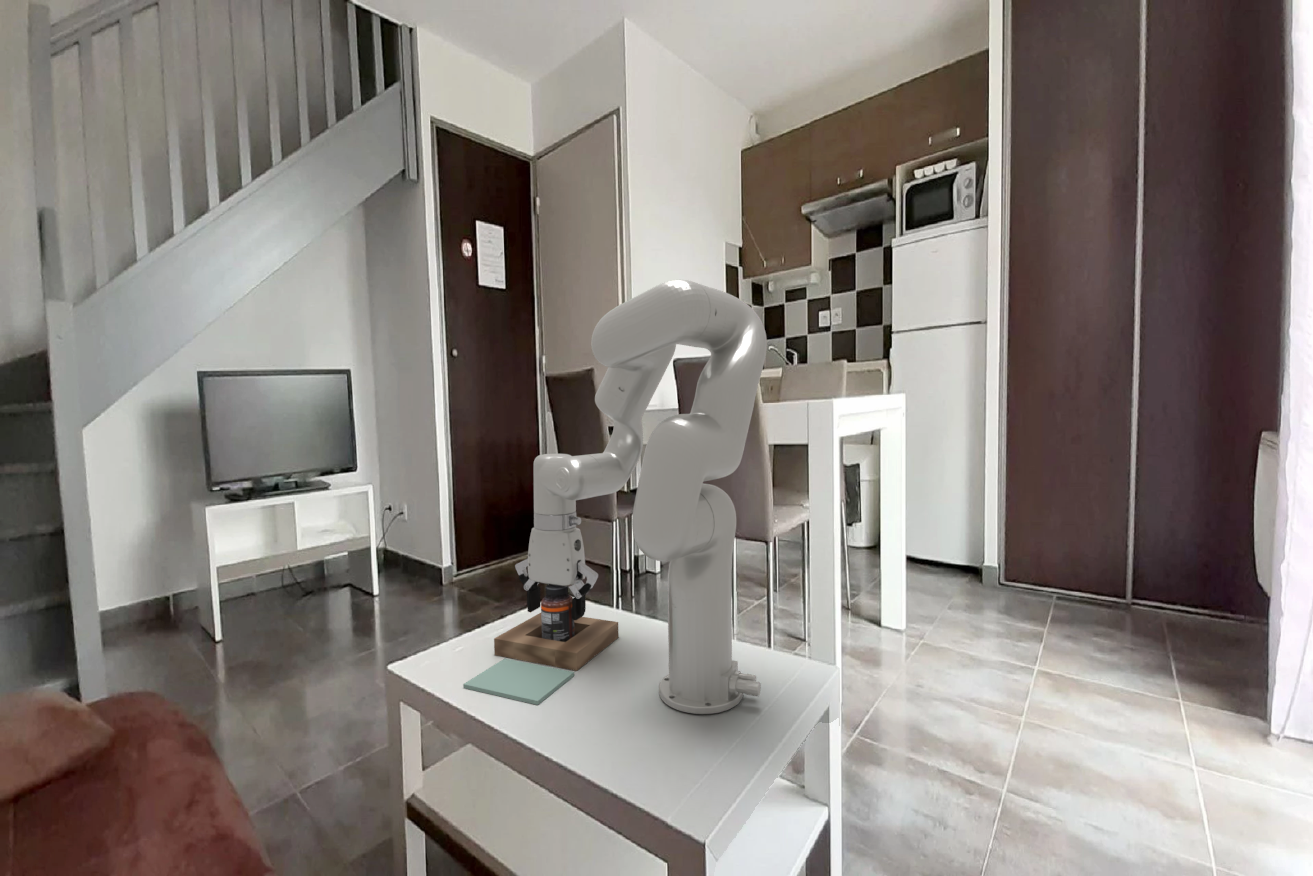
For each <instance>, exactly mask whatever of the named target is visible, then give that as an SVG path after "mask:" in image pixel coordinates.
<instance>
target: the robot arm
mask: <svg viewBox="0 0 1313 876" xmlns="http://www.w3.org/2000/svg"><path fill="white" fill-rule="evenodd" d="M590 341H591V342H590V343H591V345H590V347H591V351H592V354H593V356H594V359H595V360H596V361H597V362H598V363H599V364H601V365H602V366H604V367H607V369H606V372H605V374H604V376H603V378H602V380H601V382H600V383H599V386H598V389H597V390H596V391H595V392H596V393H595V396H594V403H595V405H596V407H597V408H598V410H599V411H600V412H601V413H602V414H603V415H605V416H606V417H607V418H609V419H610V420H612V421H613V430H612V434H611V436H610V438H609V441H608V442H607V445H606V447H605V448H604V451H603V452H601V453H591V454H582V455H571V454H568V453H545V454H539V455H537V456H536V457H534V461H533V527H532V528H531V532H530V534H529V535H530V536H529V543H528V551H527V558H526V559H524V560H522V561H520V562H517V563H516V564H515V565H514V567H515V570H516V572H517V574H518V579H519V581H520V582H521V583H522V585H523V589H524V590H525V591H526V605H527V612H528V613H532V612H535V611H536V610H538V609H541V587H540V586H539V584H546V585H549V584H551V585H557V586H565V587H568V589H569V590H570V591H571V593H572V594H573V596H574V597H572V598H573V599H572V619H573V620H578V619H579V618H581V617H585V613H586V609H587V608H586V601H587V600H586V595H587V594H589V592H591V590H592V589H593V588H594V587H595V584H596V582H597V580H598V578H599V573H598V572H596V571H595V570H593V569H592V567H590V566H588V565H587V564H586V556H585V547H584V541H583V536H582V533H581V529H580V528H578V527H577V526H579V525H581V523H582V517H579V516H577V511H576V510H577V507H576V505H577V502H576V501H579V500H587V499H590V498H595V497H600V496H605V495H611V494H615V493H617V492H618V491H620V490H621V489H622V488H623V487H624V486H625V485H626V484H627V482H628V481H629V479H630V478H631V476H632V474H633V472H634V470H635V468H636V466H637V465H638V463H639V461H640V458H641V456H642V452H643V448H644V428H643V422H642V419H643V417H644V415H645V412H646V411H647V409H648V407H649V404H650V402H651V400H652V398H653V396H654V395H655V393H656V391H657V389H658V387H659V384H660V383H661V381H662V379H663V377H664V375H665V373H666V371H667V369H668V367H669V365H670V363H671V361H672V359H673V358H674V354H675V351H676V349H677V345H680V346H681V345H682V346H687V347H692V348H698V349H699V348H701V349H706V350H707V351H708V352H710V357H709V358H708V361H706V364H705V365H704V367H703V368H702V371H701V372H700V375H699V377H698V380H697V382H696V383H697V384H696V389H695V394H694V399H693V403H692V406H691V410H690V411H689V412H690V413H680V414H674V415H671V416H669V417H666V418H665V419H663V420H662V421H661V422H659V423H658V424H657V426H656V427H655V428H654V429H653V431H652V433H651V434H650V436H649V438H648V439H647V442H646V445H645V449H644V453H643V458H642V463H641V468H640V475H639V478H638V483H637V488H636V494H635V498H634V503H633V510H632V518H631V527H632V528H631V529H632V534H633V538H634V541H635V544H636V545H637V547H638V549H639V550H640V551H641V553H643V554H644V556H646V557H648V558H649V559H651V560H653V561H658V562H669V564H668V571H667V623H668V624H667V629H668V631H667V632H668V636H667V638H668V641H667V642H668V674H666V675H665V676H664V677H663V678H662V679H661V680H660V681H659V685H658V694H659V698H660V699H661V700H662V701H663V702H664V704H666V705H667V706H669V707H670V708H672V709H674V710H677V711H680V712H683V713H688V714H694V715H713V714H718V713H722V712H726V711H728V710H730V709H733V708H734V707H736V706H737V705H739V704H740V702H741V701H742V699H743V697H744V694H746V695H748V696H753V697H757V698H759V697H760V696H761V695H760V694H761V690H762V687H761V686H762V685H761V684H762V683H761V682H760V681H757V675H756V674H749V673H742V672H741V671H742V670H741V671H740V670H739V667H738V666H739V665H738V663H739V661H738V660H737V661H736V660H733V634H732V633H733V631H732V629H733V628H732V627H733V626H732V625H733V624H732V622H733V621H732V614H733V613H732V565H733V564H732V562H733V554H734V553H733V551H734V546H735V545H734V544H735V540H736V539H735V538H736V531H737V512H736V508H735V504H734V502H733V501H732V499H731V496H730V495H729V494H728V493H726V492H725V490H724V489H722V488H720V487H719V486H717V485H714V484H709V483H704V482H707V481H709V482H710V481H713V480H717V479H718V480H719V479H722V478H725V477H727V476H730V475H732V474H733V473H734V472H735V471H736V470H737V469H738V467H739V466H740V464H741V461H742V459H743V456H744V455H743V454H744V452H745V451H744V450H745V445H746V442H747V438H748V432H749V428H750V424H751V419H752V415H753V412H754V406H755V401H756V397H757V392H758V388H759V384H760V379H761V376H762V374H763V369H764V366H765V361H766V356H767V350H768V349H767V347H768V345H767V343H768V342H767V341H768V340H767V333H766V330H765V327H764V324H763V322H762V320H761V318H760V317H759V315H758V313H757V312H756V311H755V310H754V309H753V308H752V307H751V306H750V305H749V304H748V303H746V302H744V301H743V300H741V299H740V298H738V297H736V296H735V295H732V294H731V293H729V292H726V291H723V290H720V289H717V288H713V287H709V286H706V285H703V284H702V283H698V282H694V281H691V280H689V279H688V280H687V279H673V280H667V281H664V282H661V283H660V284H658V285H656V286H653V287H652V288H650V289H647V290H646V291H643V292H641V293H640V294H638V295H636V296H634V297H632V298H631V299H628V300H626V301H624V302H623V303H621V304H619V305H617V306H615V307H614V308H613V309H611V310H609V311H608V312H607V313H605V314H604V315H603V316H602V317H601V318H600V319H599V321H598V322H597V323H596V325H595V327H594V329H593V331H592V335H591V340H590ZM585 578H586V581H585V583H584V582H583V581H584V580H585Z"/></svg>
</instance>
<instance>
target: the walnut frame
mask: <svg viewBox="0 0 1313 876" xmlns="http://www.w3.org/2000/svg"><path fill="white" fill-rule="evenodd" d="M574 628H575V636H574V637H572V638H571V639H569V640H568V641H566V642H561V641H555V640H549V639H544V638H542V620H541V612H539V613H537V614H536V615H534V616H532V617H530V618H528V619H527V620H524V621H522V622H521V623H520V624H517V625H516V626H514V627H512V628H510V629H509V630H507V631H504V632H503V633H501V634H500V635H497V636H496V637H494V638H493V643H494V645H493V646H494V647H493V649H494V651H493V652H494V656H496V657H503V658H506V659H511V660H516V661H521V662H526V663H532V664H537V665H542V666H547V667H552V668H557V669H562V670H567V671H573V672H577V671H579V670H580V669H581V668H582V667H584V666H585V665H586V664H588V663H589V662H590V661H591V660H592V659H594V658H595V657H596V656H598V655H599V654H600V653H601V652H603V651H604V650H605V649H606V648H608V646H610V645H611V644H613V643H614V642H615V641H616V640H617V639H619V638H620V637H619V622H618V621H616V620H615V621H614V620H607V619H599V618H594V617H588V616H587V617H586V616H582V617H581V618H579V619H578V620H574Z"/></svg>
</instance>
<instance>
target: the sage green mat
mask: <svg viewBox="0 0 1313 876" xmlns="http://www.w3.org/2000/svg"><path fill="white" fill-rule="evenodd" d="M574 676H575V671H573V670H568V669H563V668H558V667H553V666H548V665H543V664H538V663H532V662H527V661H522V660H517V659H512V658H507V657H504V658H503V659H501V660H500V661H498V662H497V663H495V664H493V665H492V666H490V667H488V668H487V669H485V670H484V671H482V672H481V673H479V674H477V675H476V676H474V677H472V678H471V679H469V680H467V681H466V682H465V683H463V684H462V686H463V687H462V688H463V689H466V690H470V691H475V692H479V693H485V694H488V695H493V696H497V697H501V698H507V699H510V700H515V701H518V702H524V703H527V704H531V705H532V704H533V705H536V706H538V705H539V704H541V703H542V702H543V701H545V700H546V699H547V698H549V697H550V696H551V695H552V694H553V693H555V692H556V691H558V689H560V688H561V687H563V685H565V684H566V683H567V682H569V680H572V678H573V677H574Z"/></svg>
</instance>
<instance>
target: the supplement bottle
mask: <svg viewBox="0 0 1313 876" xmlns="http://www.w3.org/2000/svg"><path fill="white" fill-rule="evenodd" d="M568 592H569V587H565V586H557V585H551V584H546V585H545V596H543V598H542V599H541V600H540V613H541V620H542V638H544V639H549V640H555V641H561V642H566V641H568V640H569V639H571V638H572V637H574V636H575V628H574V620H573V619H572V599H573V598H574V597H573V596H572V595H570V594H569V593H568Z"/></svg>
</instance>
